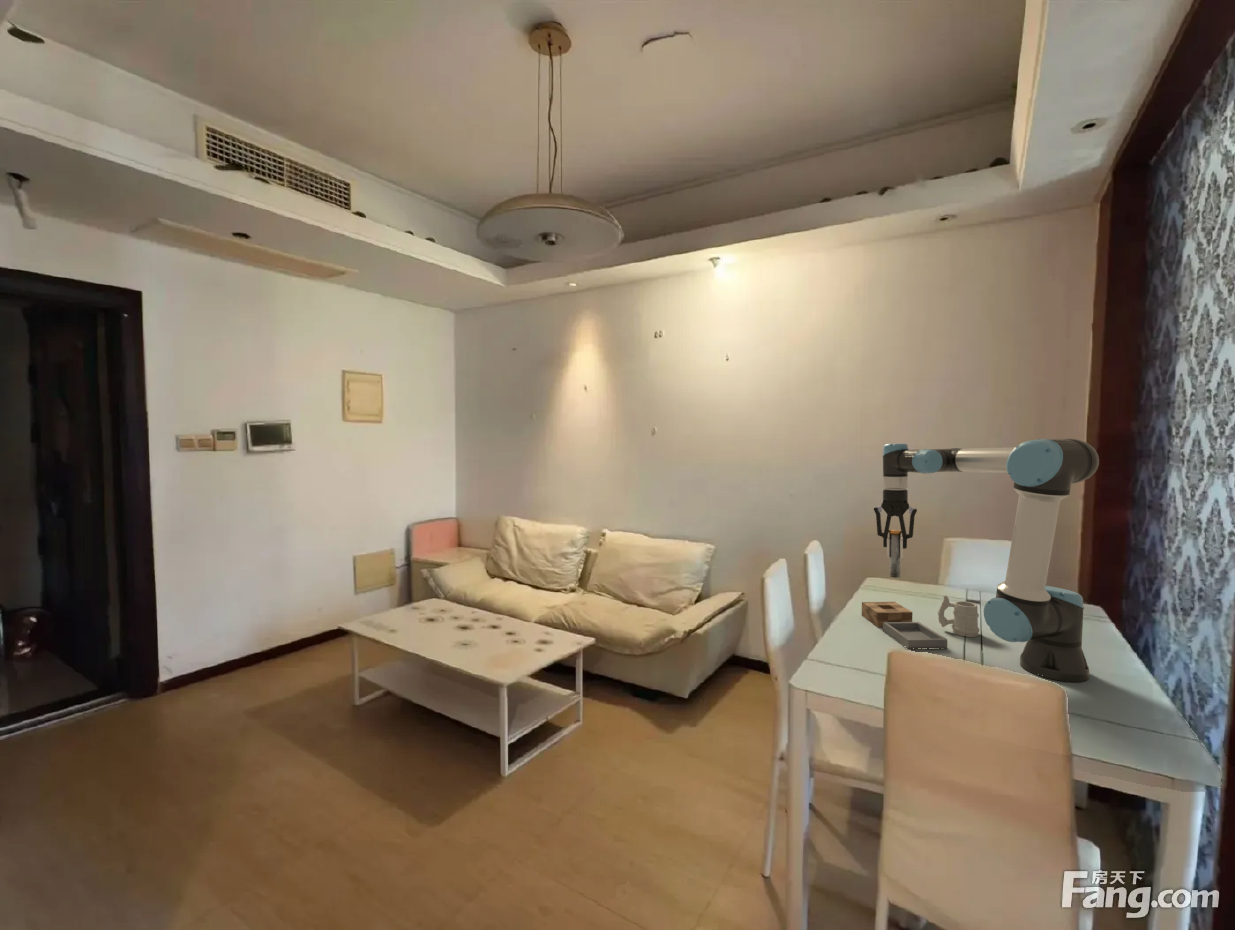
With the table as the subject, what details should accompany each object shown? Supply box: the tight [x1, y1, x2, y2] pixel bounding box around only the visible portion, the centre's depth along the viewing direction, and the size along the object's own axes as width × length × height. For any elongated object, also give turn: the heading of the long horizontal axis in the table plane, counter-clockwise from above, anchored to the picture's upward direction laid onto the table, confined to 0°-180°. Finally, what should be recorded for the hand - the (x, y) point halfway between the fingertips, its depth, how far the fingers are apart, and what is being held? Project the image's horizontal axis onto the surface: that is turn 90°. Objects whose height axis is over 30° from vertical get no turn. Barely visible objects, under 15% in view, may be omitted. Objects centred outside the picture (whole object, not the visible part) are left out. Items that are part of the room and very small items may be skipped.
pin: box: [888, 529, 902, 579], centre depth 190 cm, size 4×4×16 cm
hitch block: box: [861, 601, 913, 628], centre depth 196 cm, size 12×12×5 cm
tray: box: [882, 621, 948, 651], centre depth 178 cm, size 16×12×3 cm
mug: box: [937, 594, 980, 638], centre depth 184 cm, size 8×12×12 cm, turn 62°
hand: (895, 557), depth 190 cm, fingers closed on pin, 3 cm apart
